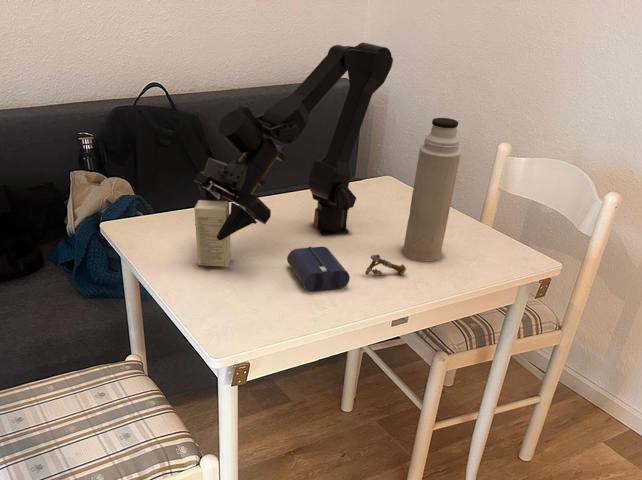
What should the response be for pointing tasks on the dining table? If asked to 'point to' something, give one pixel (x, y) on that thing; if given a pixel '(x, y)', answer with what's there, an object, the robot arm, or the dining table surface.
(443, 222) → the thermos bottle
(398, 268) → the wooden post with brackets
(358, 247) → the dining table surface
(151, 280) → the dining table surface
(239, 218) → the robot arm
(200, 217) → the cosmetic box
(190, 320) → the dining table surface
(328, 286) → the pouch
